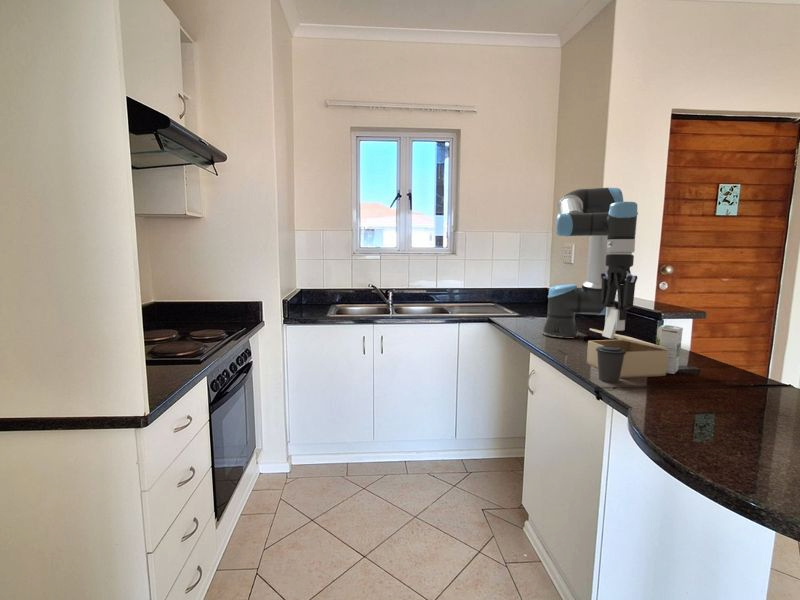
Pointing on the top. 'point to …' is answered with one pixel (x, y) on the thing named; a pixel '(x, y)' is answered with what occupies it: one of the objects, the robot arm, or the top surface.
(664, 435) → the top surface
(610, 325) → the lid flap
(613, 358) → the coffee cup
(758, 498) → the top surface
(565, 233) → the robot arm
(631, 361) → the carton
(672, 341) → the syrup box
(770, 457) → the top surface
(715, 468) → the top surface
